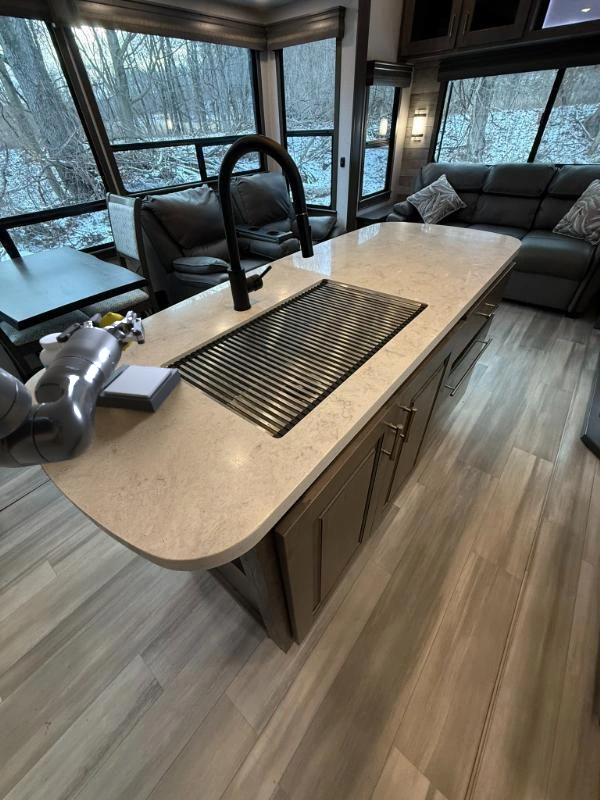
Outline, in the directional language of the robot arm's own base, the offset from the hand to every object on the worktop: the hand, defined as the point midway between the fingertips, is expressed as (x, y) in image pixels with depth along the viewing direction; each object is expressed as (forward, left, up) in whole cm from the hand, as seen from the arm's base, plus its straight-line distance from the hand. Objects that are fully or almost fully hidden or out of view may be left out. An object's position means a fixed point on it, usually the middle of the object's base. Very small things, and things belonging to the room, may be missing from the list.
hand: (116, 317), depth 64 cm
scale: (0, -1, -17) cm, 17 cm away
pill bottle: (-13, -3, -17) cm, 22 cm away
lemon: (+1, -2, -6) cm, 7 cm away
